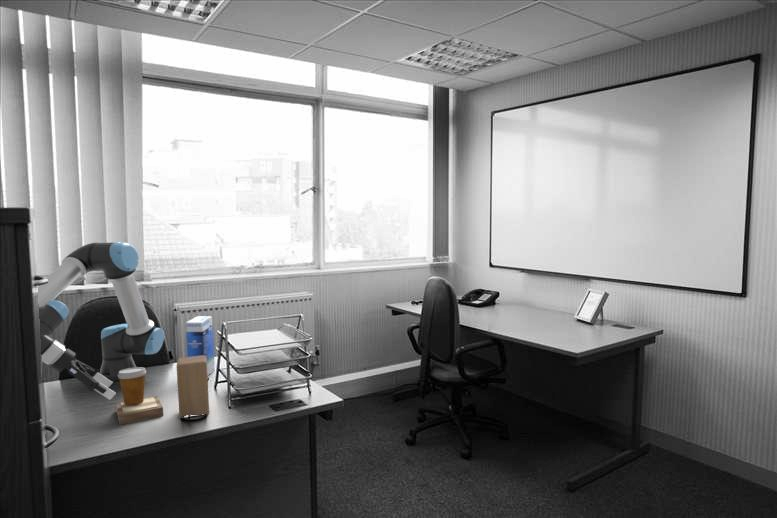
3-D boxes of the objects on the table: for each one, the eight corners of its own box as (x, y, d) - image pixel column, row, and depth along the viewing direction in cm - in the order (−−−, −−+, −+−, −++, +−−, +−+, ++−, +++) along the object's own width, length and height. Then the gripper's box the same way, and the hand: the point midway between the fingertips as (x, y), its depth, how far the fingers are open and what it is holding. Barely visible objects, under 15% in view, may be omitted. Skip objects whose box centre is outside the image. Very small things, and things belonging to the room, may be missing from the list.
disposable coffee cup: (153, 397, 189) (151, 366, 189) (140, 405, 179) (137, 372, 179) (128, 398, 189) (126, 367, 189) (114, 407, 180) (111, 374, 179)
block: (180, 409, 185) (177, 357, 183) (208, 405, 189) (206, 354, 187) (179, 420, 176) (176, 364, 174) (209, 415, 179) (206, 361, 178)
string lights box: (199, 370, 232) (196, 316, 230) (215, 370, 232) (213, 315, 230) (188, 379, 219) (184, 322, 217) (205, 379, 219) (202, 322, 217)
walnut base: (116, 411, 185) (115, 402, 184) (157, 403, 192) (157, 395, 192) (119, 424, 173) (118, 415, 173) (163, 415, 180) (162, 406, 180)
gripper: (49, 356, 177) (101, 389, 186) (47, 375, 156) (105, 410, 165) (66, 340, 179) (116, 373, 189) (66, 355, 158) (122, 392, 168)
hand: (111, 390), depth 177 cm, fingers open, 13 cm apart
